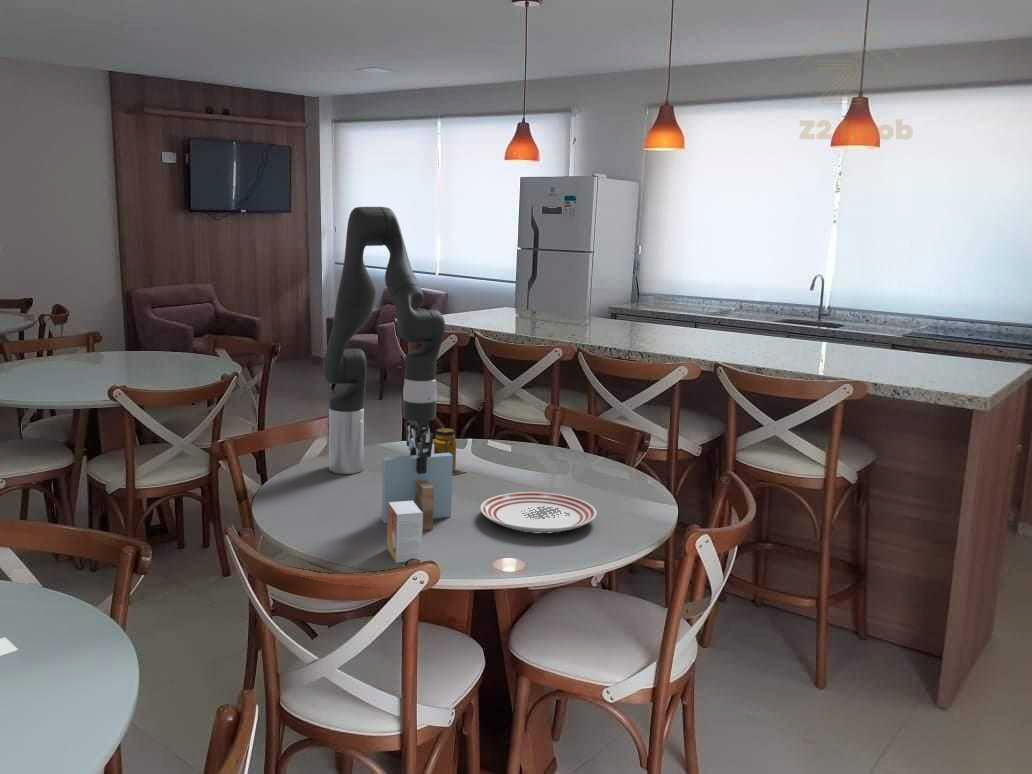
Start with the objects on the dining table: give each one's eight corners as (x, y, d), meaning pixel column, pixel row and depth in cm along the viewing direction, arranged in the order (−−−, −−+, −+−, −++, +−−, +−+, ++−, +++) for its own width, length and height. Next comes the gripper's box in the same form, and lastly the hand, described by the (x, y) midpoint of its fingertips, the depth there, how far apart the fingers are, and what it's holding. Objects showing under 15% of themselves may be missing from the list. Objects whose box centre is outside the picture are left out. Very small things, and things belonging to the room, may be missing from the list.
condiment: (426, 471, 242) (428, 429, 240) (451, 466, 248) (452, 424, 245) (443, 477, 237) (444, 434, 234) (467, 472, 242) (469, 430, 240)
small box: (386, 549, 186) (387, 501, 184) (412, 546, 188) (413, 499, 186) (395, 563, 179) (396, 514, 177) (421, 560, 181) (423, 512, 179)
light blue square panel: (381, 519, 203) (382, 457, 200) (447, 513, 209) (449, 452, 206) (384, 523, 201) (385, 460, 198) (450, 516, 207) (452, 455, 204)
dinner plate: (466, 505, 216) (466, 492, 215) (569, 498, 225) (569, 486, 224) (500, 547, 191) (501, 532, 190) (615, 537, 200) (616, 523, 199)
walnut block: (401, 507, 212) (402, 467, 210) (411, 506, 213) (412, 467, 211) (422, 530, 197) (423, 488, 195) (432, 529, 198) (433, 487, 196)
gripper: (445, 403, 194) (443, 478, 198) (425, 390, 207) (424, 460, 211) (413, 405, 191) (411, 480, 195) (394, 392, 204) (393, 462, 208)
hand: (417, 469), depth 203 cm, fingers open, 4 cm apart
